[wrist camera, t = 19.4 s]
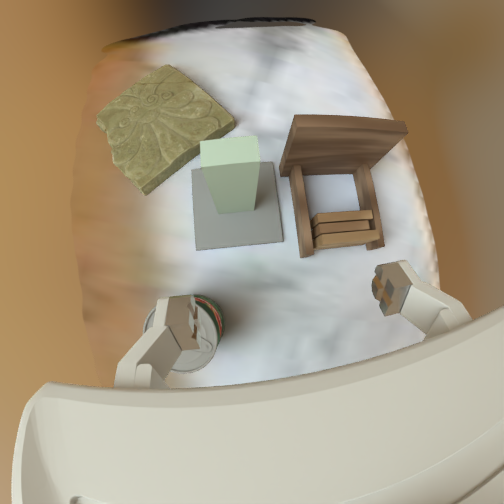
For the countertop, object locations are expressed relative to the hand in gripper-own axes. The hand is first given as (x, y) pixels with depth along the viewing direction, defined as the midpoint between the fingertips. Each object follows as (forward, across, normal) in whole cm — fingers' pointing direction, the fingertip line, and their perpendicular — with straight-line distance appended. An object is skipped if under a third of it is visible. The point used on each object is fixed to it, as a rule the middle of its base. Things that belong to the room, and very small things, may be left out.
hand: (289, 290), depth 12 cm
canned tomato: (+16, +10, +21) cm, 28 cm away
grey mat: (+27, +2, +10) cm, 29 cm away
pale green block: (+26, +2, +9) cm, 28 cm away
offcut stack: (+23, -11, +14) cm, 29 cm away
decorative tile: (+39, +14, -2) cm, 41 cm away
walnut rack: (+25, -12, +12) cm, 30 cm away
